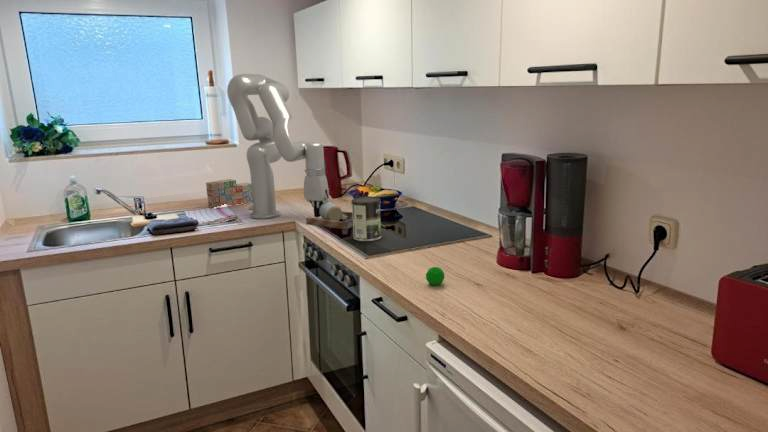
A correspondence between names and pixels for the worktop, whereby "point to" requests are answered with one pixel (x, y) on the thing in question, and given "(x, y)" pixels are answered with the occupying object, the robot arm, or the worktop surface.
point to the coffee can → (366, 218)
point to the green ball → (435, 276)
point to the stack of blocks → (228, 193)
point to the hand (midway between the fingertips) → (318, 216)
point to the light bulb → (331, 212)
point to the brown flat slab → (332, 222)
